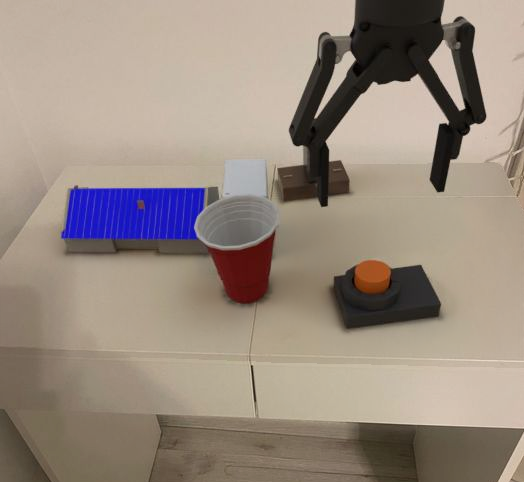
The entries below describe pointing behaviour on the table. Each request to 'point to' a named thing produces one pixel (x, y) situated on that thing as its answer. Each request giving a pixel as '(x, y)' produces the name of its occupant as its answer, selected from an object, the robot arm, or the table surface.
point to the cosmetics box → (245, 177)
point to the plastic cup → (240, 243)
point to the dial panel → (299, 187)
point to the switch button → (372, 277)
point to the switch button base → (387, 298)
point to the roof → (134, 218)
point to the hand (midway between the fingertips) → (379, 193)
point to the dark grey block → (310, 179)
